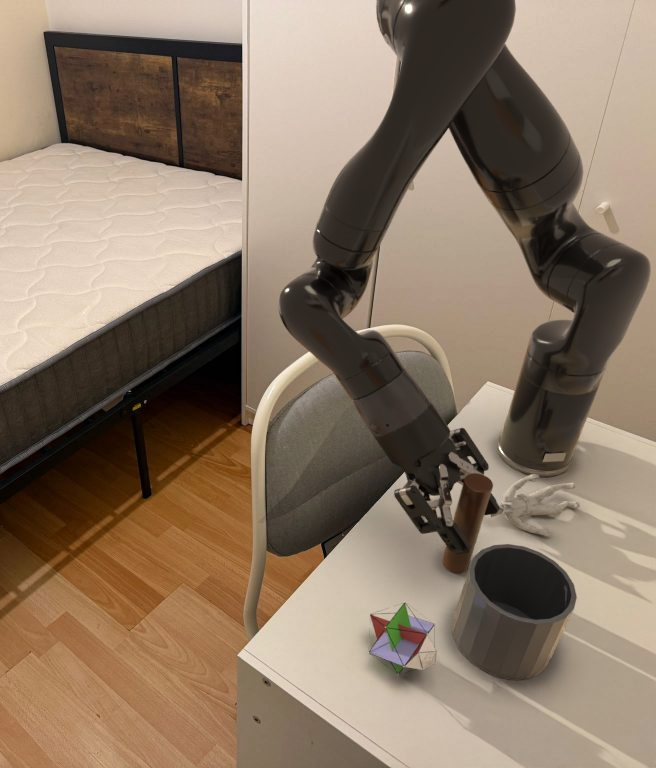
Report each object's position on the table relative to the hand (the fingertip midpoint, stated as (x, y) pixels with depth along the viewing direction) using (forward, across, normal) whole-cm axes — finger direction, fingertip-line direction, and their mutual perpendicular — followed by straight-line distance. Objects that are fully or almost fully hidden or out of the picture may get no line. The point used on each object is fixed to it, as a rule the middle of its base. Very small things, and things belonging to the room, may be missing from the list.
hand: (478, 531), depth 85 cm
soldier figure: (+7, +14, +3) cm, 16 cm away
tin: (+10, -7, 0) cm, 12 cm away
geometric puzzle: (+4, -16, +6) cm, 17 cm away
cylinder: (+4, 0, +6) cm, 7 cm away
